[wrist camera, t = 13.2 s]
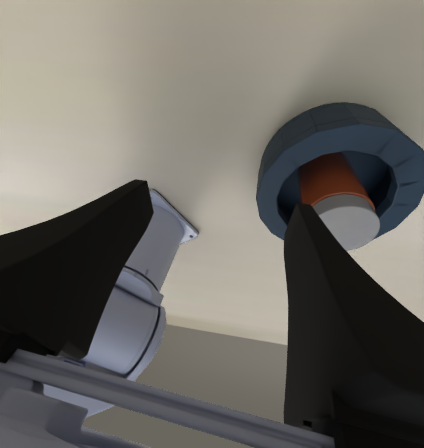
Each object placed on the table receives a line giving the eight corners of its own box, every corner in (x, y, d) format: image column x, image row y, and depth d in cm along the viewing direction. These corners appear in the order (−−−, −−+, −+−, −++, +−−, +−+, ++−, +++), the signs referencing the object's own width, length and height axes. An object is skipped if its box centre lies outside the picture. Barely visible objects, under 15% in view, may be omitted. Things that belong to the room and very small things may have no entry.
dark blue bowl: (290, 227, 23) (293, 261, 20) (238, 153, 19) (230, 180, 15) (409, 186, 17) (440, 223, 14) (375, 65, 13) (409, 79, 10)
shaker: (308, 199, 20) (320, 259, 15) (288, 166, 18) (294, 221, 13) (357, 179, 17) (390, 241, 12) (340, 139, 16) (371, 193, 11)
